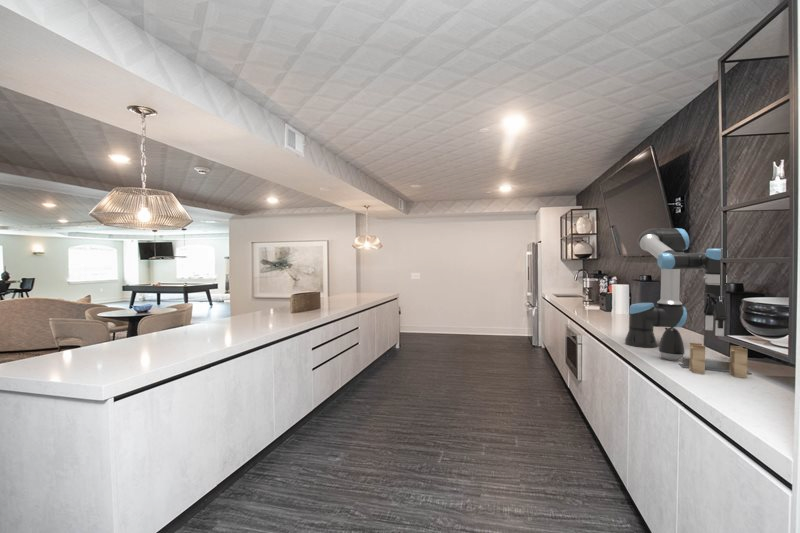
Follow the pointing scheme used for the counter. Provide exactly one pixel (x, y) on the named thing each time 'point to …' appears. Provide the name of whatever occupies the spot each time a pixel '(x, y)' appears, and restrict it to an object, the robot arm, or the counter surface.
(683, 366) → the mat
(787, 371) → the counter surface
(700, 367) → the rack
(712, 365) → the rail
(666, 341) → the black tapered rounded piece
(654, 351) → the counter surface
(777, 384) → the counter surface
